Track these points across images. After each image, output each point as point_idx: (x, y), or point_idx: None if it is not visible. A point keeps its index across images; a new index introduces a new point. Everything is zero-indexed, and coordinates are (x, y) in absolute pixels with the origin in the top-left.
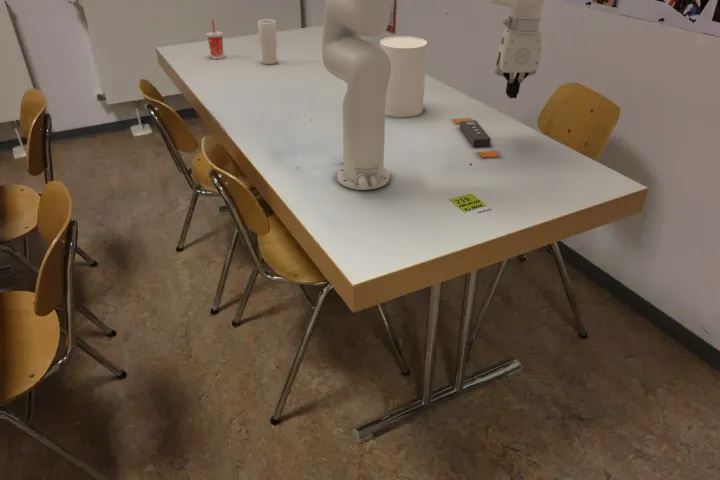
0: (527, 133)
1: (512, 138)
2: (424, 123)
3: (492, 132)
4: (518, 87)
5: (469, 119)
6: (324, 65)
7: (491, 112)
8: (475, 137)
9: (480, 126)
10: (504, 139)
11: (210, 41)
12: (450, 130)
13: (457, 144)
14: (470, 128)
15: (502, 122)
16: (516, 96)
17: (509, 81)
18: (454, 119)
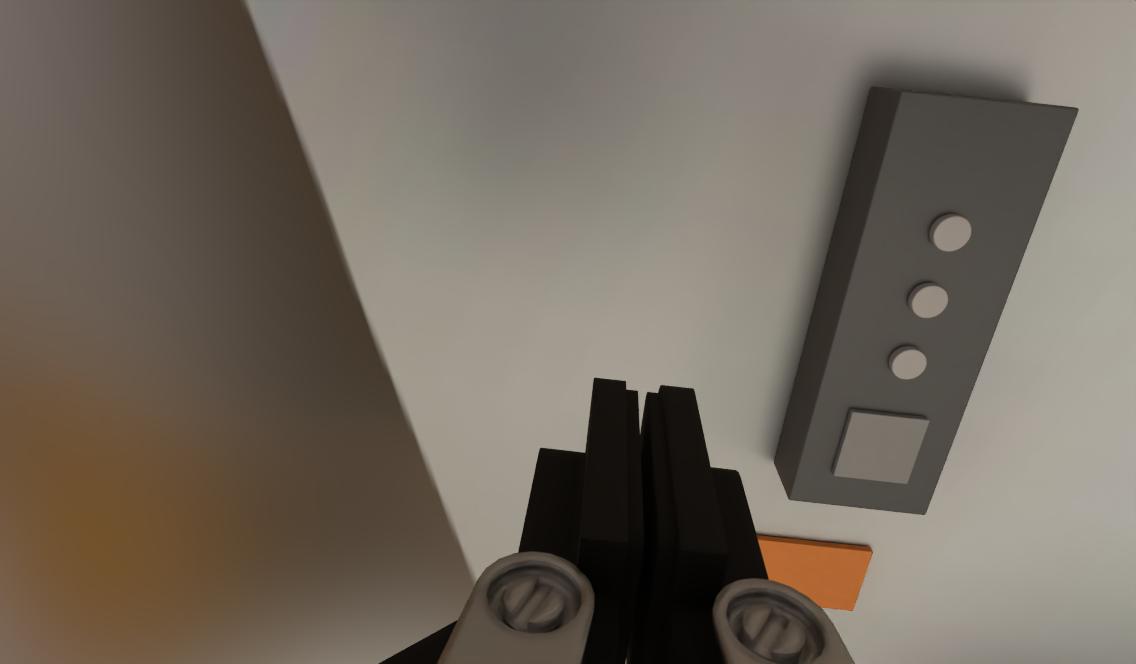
0: (414, 271)
1: (583, 205)
2: (1090, 606)
3: (686, 354)
4: (550, 515)
5: None
6: None
7: None
8: (1029, 157)
9: (826, 380)
10: (660, 202)
11: None
12: (987, 461)
13: (1118, 197)
14: (939, 362)
15: (521, 497)
16: (600, 385)
17: (829, 633)
18: (853, 606)
